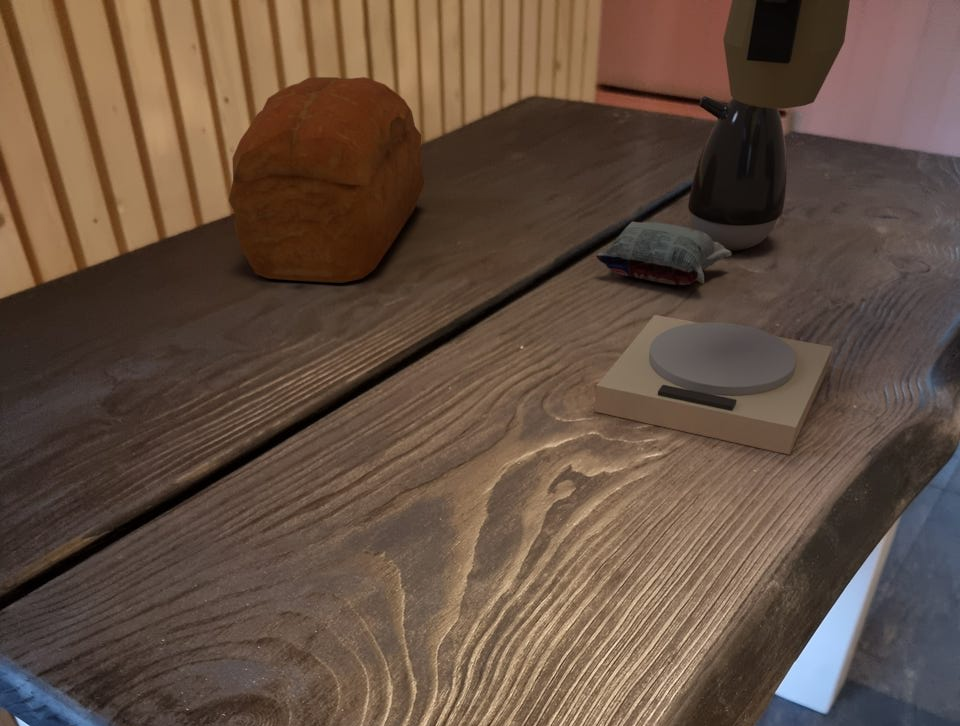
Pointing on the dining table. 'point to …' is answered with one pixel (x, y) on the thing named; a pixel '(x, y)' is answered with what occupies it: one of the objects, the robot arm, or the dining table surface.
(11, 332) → the dining table surface
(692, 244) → the packaged food
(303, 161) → the bread
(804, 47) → the squeeze bottle
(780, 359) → the scale
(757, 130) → the pump dispenser
